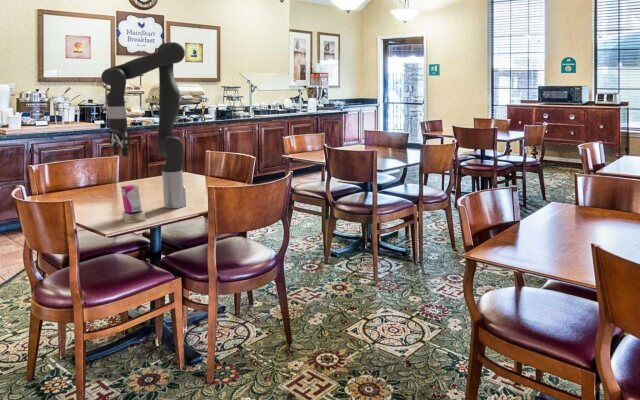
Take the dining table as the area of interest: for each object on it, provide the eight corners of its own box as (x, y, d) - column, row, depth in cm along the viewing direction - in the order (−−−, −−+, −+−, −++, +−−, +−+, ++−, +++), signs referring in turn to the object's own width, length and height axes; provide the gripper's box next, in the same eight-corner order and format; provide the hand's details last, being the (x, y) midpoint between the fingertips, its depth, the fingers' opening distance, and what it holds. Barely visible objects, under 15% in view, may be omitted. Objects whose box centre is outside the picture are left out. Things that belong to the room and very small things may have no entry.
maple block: (141, 217, 238) (141, 209, 237) (145, 221, 231) (145, 213, 230) (122, 219, 234) (122, 211, 233) (126, 223, 227) (125, 215, 226)
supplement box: (137, 210, 236) (134, 184, 234) (141, 212, 232) (138, 185, 229) (124, 212, 233) (120, 186, 231) (128, 214, 228) (125, 187, 226)
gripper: (133, 117, 225) (136, 156, 229) (118, 116, 235) (121, 153, 239) (116, 118, 220) (119, 158, 224) (101, 117, 230) (104, 155, 234)
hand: (120, 155), depth 231 cm, fingers open, 8 cm apart
